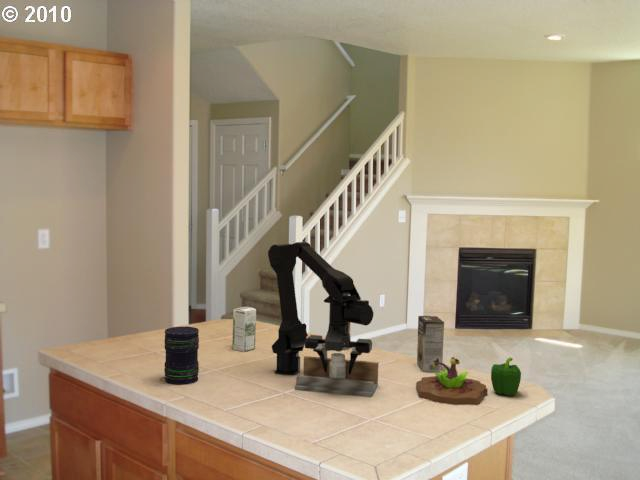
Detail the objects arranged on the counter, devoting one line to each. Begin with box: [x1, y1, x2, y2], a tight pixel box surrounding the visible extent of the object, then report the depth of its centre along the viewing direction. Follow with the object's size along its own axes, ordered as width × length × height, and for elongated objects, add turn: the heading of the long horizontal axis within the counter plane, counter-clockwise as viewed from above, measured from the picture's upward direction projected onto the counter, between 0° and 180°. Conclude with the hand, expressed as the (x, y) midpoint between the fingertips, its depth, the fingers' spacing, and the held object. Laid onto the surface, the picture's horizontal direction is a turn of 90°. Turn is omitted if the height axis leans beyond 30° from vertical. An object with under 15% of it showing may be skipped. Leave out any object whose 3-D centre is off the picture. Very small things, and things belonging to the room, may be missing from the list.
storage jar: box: [163, 326, 200, 386], centre depth 200 cm, size 10×10×15 cm
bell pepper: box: [490, 357, 522, 397], centre depth 194 cm, size 8×8×10 cm
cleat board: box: [294, 355, 379, 398], centre depth 196 cm, size 22×11×7 cm, turn 77°
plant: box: [415, 356, 488, 406], centre depth 193 cm, size 20×20×11 cm
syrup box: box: [232, 306, 257, 353], centre depth 237 cm, size 6×6×14 cm
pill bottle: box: [329, 352, 346, 379], centre depth 197 cm, size 5×5×8 cm
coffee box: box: [416, 315, 445, 373], centre depth 219 cm, size 9×6×16 cm
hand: (337, 373), depth 197 cm, fingers open, 7 cm apart
